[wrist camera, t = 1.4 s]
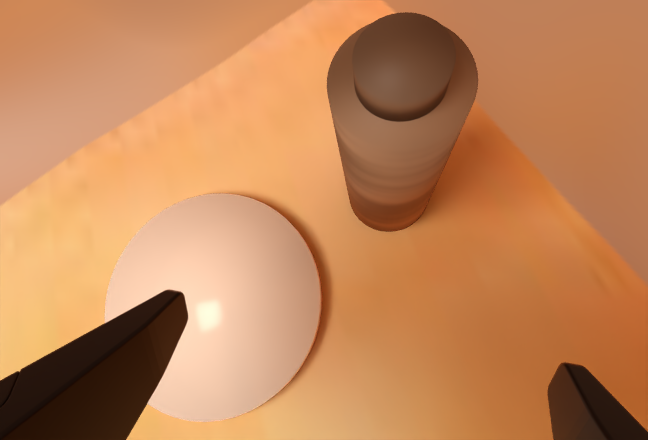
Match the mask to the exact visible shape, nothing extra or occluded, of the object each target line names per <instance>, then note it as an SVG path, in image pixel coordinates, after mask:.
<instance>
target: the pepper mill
mask: <svg viewBox="0 0 648 440" xmlns="http://www.w3.org/2000/svg"><path fill="white" fill-rule="evenodd" d="M477 87H478V73H477V68H476V63H475V61H474V58H473V56H472V54H471V52H470V50H469V49H468V47H467V46H466V44H465V43H464V42H463V41H462V40H461V39H460V38H459V37H458V36H457V35H456V34H455V33H454V32H452V31H451V30H449V29H448V28H446V27H444V26H443V25H441V24H440V23H438V22H437V21H435V20H433V19H432V18H429V17H427V16H425V15H421V14H417V13H396V14H391V15H388V16H385V17H382V18H380V19H378V20H376V21H375V22H373V23H371V24H369V25H367V26H365V27H363V28H361V29H359V30H358V31H357V32H355V33H354V34H352V35H351V36H350V37H349V38H348V39H347V40H346V41H345V42H344V43H343V44H342V45H341V47H340V48H339V49H338V51H337V52H336V54H335V56H334V58H333V60H332V62H331V65H330V68H329V71H328V77H327V92H328V99H329V103H330V108H331V113H332V118H333V123H334V127H335V132H336V137H337V142H338V147H339V152H340V156H341V161H342V166H343V171H344V176H345V181H346V185H347V190H348V195H349V200H350V204H351V207H352V209H353V211H354V213H355V215H356V216H357V217H358V218H359V219H360V220H361V221H362V222H363V223H364V224H365V225H367V226H369V227H371V228H373V229H376V230H379V231H386V232H391V231H398V230H402V229H404V228H407V227H408V226H410V225H412V224H413V223H414V222H416V221H417V220H418V219H419V218H420V216H421V215H422V213H423V212H424V210H425V208H426V206H427V203H428V201H429V199H430V197H431V195H432V193H433V190H434V188H435V186H436V184H437V182H438V179H439V177H440V175H441V173H442V171H443V169H444V166H445V164H446V162H447V160H448V158H449V155H450V153H451V151H452V149H453V147H454V144H455V142H456V140H457V138H458V136H459V134H460V131H461V129H462V127H463V125H464V123H465V120H466V118H467V116H468V114H469V112H470V109H471V107H472V105H473V102H474V100H475V97H476V92H477Z"/></svg>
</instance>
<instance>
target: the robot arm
mask: <svg viewBox="0 0 648 440" xmlns="http://www.w3.org/2000/svg"><path fill="white" fill-rule="evenodd" d="M187 321H188V311H187V306H186V301H185V296H184V294H183V293H182V292H181V291H176V290H170V289H168V290H165V291H163V292H161V293H159V294H157V295H155V296H154V297H152V298H150V299H148V300H146V301H144V302H143V303H141V304H139V305H137V306H135V307H134V308H132V309H130V310H128V311H126V312H124V313H123V314H121V315H119V316H117V317H115V318H114V319H112V320H110V321H108V322H106V323H104V324H103V325H101V326H99V327H97V328H95V329H93V330H92V331H90V332H88V333H86V334H84V335H83V336H81V337H79V338H77V339H75V340H73V341H72V342H70V343H68V344H66V345H64V346H63V347H61V348H59V349H57V350H55V351H53V352H52V353H50V354H48V355H46V356H44V357H43V358H41V359H39V360H37V361H35V362H33V363H32V364H30V365H28V366H26V367H24V368H22V369H21V371H20V372H19V371H17V372H15V373H13V374H11V375H10V376H8V377H6V378H4V379H2V380H0V440H126V439H127V437H128V436H129V434H130V432H131V430H132V429H133V427H134V425H135V424H136V422H137V420H138V418H139V417H140V415H141V413H142V412H143V410H144V408H145V407H146V405H147V403H148V401H149V400H150V398H151V396H152V395H153V393H154V391H155V389H156V388H157V386H158V384H159V382H160V381H161V379H162V377H163V375H164V373H165V371H166V369H167V366H168V364H169V362H170V360H171V358H172V355H173V353H174V351H175V349H176V347H177V344H178V342H179V340H180V338H181V336H182V333H183V331H184V329H185V327H186V324H187ZM548 401H549V409H550V417H551V424H552V432H553V440H648V432H647V431H646V430H645V429H644V428H643V427H642V426H641V425H640V423H639V422H638V421H637V420H636V419H635V418H634V417H633V416H632V415H631V414H630V413H629V412H628V411H627V410H626V409H625V408H624V407H623V406H622V405H621V404H620V403H619V402H618V401H617V400H616V399H615V398H614V397H613V396H612V395H611V394H610V392H609V391H608V390H607V389H606V388H605V387H604V386H603V385H602V384H601V383H600V382H599V381H598V380H597V379H596V378H595V377H594V376H593V375H592V374H591V373H590V372H589V371H588V370H587V369H586V368H585V367H583V366H581V365H577V364H572V363H566V362H564V363H561V364H560V365H559V367H558V369H557V371H556V373H555V375H554V376H553V378H552V380H551V382H550V384H549V387H548Z"/></svg>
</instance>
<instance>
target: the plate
mask: <svg viewBox="0 0 648 440" xmlns="http://www.w3.org/2000/svg"><path fill="white" fill-rule="evenodd" d="M168 289H170V290H176V291H181V292H182V293H183V294H184V296H185V301H186V306H187V311H188V321H187V324H186V327H185V329H184V331H183V333H182V336H181V338H180V340H179V342H178V344H177V347H176V349H175V351H174V353H173V355H172V358H171V360H170V362H169V364H168V366H167V369H166V371H165V373H164V375H163V377H162V379H161V381H160V382H159V384H158V386H157V388H156V389H155V391H154V393H153V395H152V396H151V398H150V400H149V401H148V403H147V404H148V405H150V406H152V407H153V408H155V409H157V410H158V411H160V412H162V413H165V414H167V415H170V416H172V417H175V418H179V419H183V420H188V421H198V422H210V421H221V420H225V419H229V418H233V417H237V416H239V415H242V414H244V413H247V412H249V411H251V410H253V409H255V408H257V407H258V406H260V405H262V404H264V403H265V402H266V401H268V400H269V399H270V398H272V397H273V396H274V395H276V394H277V393H278V392H279V391H281V390H282V389H283V388H284V387H285V386H286V385H287V384H288V383H289V382H290V381H291V380H292V379H293V377H294V376H295V375H296V373H297V372H298V371H299V370H300V368H301V367H302V365H303V363H304V362H305V360H306V358H307V357H308V355H309V353H310V351H311V348H312V346H313V344H314V341H315V338H316V335H317V332H318V328H319V324H320V318H321V311H322V290H321V281H320V277H319V272H318V268H317V265H316V262H315V260H314V257H313V254H312V253H311V251H310V249H309V247H308V245H307V243H306V242H305V240H304V239H303V238H302V236H301V235H300V233H299V232H298V231H297V230H296V229H295V227H294V226H293V225H292V224H291V223H290V222H289V221H288V220H287V219H286V218H285V217H283V216H282V215H281V214H280V213H278V212H277V211H276V210H274V209H273V208H271V207H269V206H268V205H266V204H264V203H262V202H259V201H257V200H255V199H252V198H249V197H245V196H241V195H235V194H227V193H219V194H206V195H199V196H196V197H192V198H188V199H185V200H183V201H181V202H178V203H176V204H174V205H172V206H170V207H168V208H166V209H165V210H163V211H161V212H160V213H159V214H157V215H156V216H154V217H153V218H152V219H150V220H149V221H148V222H147V223H146V224H145V225H144V226H143V227H142V228H141V229H140V230H139V231H138V232H137V233H136V234H135V236H134V237H133V238H132V239H131V240H130V242H129V243H128V245H127V246H126V248H125V249H124V251H123V252H122V254H121V256H120V258H119V260H118V262H117V264H116V266H115V269H114V271H113V274H112V276H111V280H110V283H109V287H108V290H107V297H106V303H105V323H106V322H108V321H110V320H112V319H114V318H115V317H117V316H119V315H121V314H123V313H124V312H126V311H128V310H130V309H132V308H134V307H135V306H137V305H139V304H141V303H143V302H144V301H146V300H148V299H150V298H152V297H154V296H155V295H157V294H159V293H161V292H163V291H165V290H168Z"/></svg>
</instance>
